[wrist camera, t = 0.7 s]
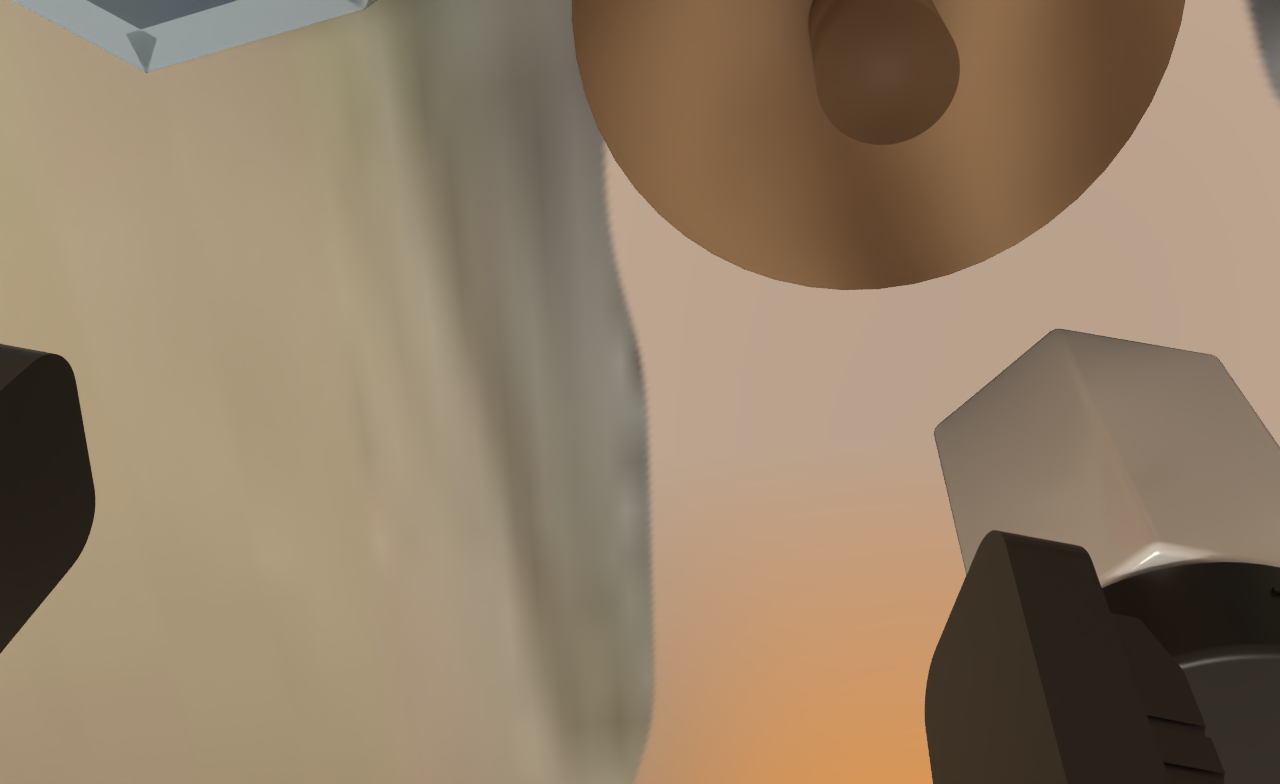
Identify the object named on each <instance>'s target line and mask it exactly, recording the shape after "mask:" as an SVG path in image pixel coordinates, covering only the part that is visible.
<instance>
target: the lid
mask: <svg viewBox="0 0 1280 784" xmlns="http://www.w3.org/2000/svg"><path fill="white" fill-rule="evenodd" d="M1184 4H1185V0H572V22H573V31H574V40H575V49H576V58H577V62H578V66H579V70H580V75H581V79H582V83H583V87H584V91H585V95H586V98H587V100H588V103H589V105H590V108H591V111H592V113H593V116H594V119H595V121H596V124H597V126H598V129H599V131H600V133H601V135H602V136H603V138H604V140H605V142H606V144H607V146H608V148H609V150H610V151H611V153H612V155H613V157H614V158H615V161H616V162H617V163H618V165H619V166H620V168H621V169H622V170H623V172H624V173H625V175H626V176H627V177H628V179H629V180H630V182H631V183H632V184H633V186H634V187H635V189H636V190H637V191H638V192H639V193H640V194H641V195H642V196H643V197H644V198H645V199H646V201H647V202H648V203H649V204H650V205H651V206H652V207H653V208H654V209H655V210H656V211H657V213H658V214H660V215H661V216H662V217H663V218H664V219H665V220H667V221H668V222H669V223H670V224H671V225H672V226H674V227H675V228H676V229H677V230H678V231H680V232H681V233H682V234H683V235H684V236H686V237H687V238H689V239H691V240H692V241H694V242H695V243H697V244H698V245H700V246H701V247H703V248H705V249H706V250H707V251H709V252H711V253H712V254H714V255H716V256H718V257H720V258H722V259H724V260H726V261H728V262H730V263H732V264H734V265H737V266H739V267H741V268H743V269H745V270H748V271H751V272H754V273H757V274H760V275H763V276H766V277H769V278H772V279H775V280H779V281H784V282H789V283H793V284H799V285H803V286H808V287H816V288H828V289H839V290H856V289H881V288H888V287H895V286H901V285H909V284H915V283H919V282H923V281H927V280H930V279H934V278H938V277H942V276H946V275H949V274H952V273H954V272H957V271H960V270H962V269H965V268H967V267H970V266H973V265H975V264H978V263H980V262H983V261H985V260H987V259H989V258H991V257H993V256H995V255H996V254H999V253H1000V252H1002V251H1004V250H1006V249H1008V248H1010V247H1012V246H1014V245H1016V244H1017V243H1019V242H1021V241H1022V240H1024V239H1025V238H1027V237H1028V236H1029V235H1031V234H1033V233H1034V232H1036V231H1037V230H1038V229H1040V228H1042V227H1043V226H1045V225H1046V224H1048V223H1049V222H1050V221H1051V220H1052V219H1054V218H1055V217H1056V216H1057V215H1059V214H1060V213H1061V212H1062V211H1063V210H1065V209H1066V208H1067V207H1068V206H1069V205H1070V204H1072V203H1073V202H1074V201H1075V200H1077V199H1078V198H1079V197H1080V196H1081V195H1082V194H1083V193H1084V192H1085V190H1086V189H1087V188H1088V187H1089V186H1090V185H1091V184H1092V183H1093V182H1094V181H1095V180H1096V179H1097V178H1098V177H1099V176H1100V175H1101V174H1102V173H1103V172H1104V171H1105V170H1106V168H1107V167H1108V166H1109V164H1110V163H1111V162H1112V161H1113V159H1114V158H1115V157H1116V155H1117V154H1118V153H1119V151H1120V150H1121V149H1122V147H1123V146H1124V145H1125V143H1126V142H1127V141H1128V140H1129V138H1130V137H1131V135H1132V134H1133V132H1134V130H1135V129H1136V127H1137V125H1138V123H1139V122H1140V120H1141V118H1142V117H1143V115H1144V113H1145V112H1146V110H1147V108H1148V107H1149V105H1150V103H1151V102H1152V99H1153V97H1154V95H1155V92H1156V91H1157V88H1158V86H1159V84H1160V81H1161V79H1162V77H1163V75H1164V72H1165V70H1166V68H1167V66H1168V64H1169V60H1170V57H1171V54H1172V51H1173V47H1174V44H1175V41H1176V38H1177V34H1178V32H1179V28H1180V25H1181V20H1182V14H1183V9H1184Z"/></svg>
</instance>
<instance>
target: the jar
mask: <svg viewBox="0 0 1280 784" xmlns="http://www.w3.org/2000/svg"><path fill="white" fill-rule="evenodd" d="M934 436H935V441H936V444H937V449H938V454H939V458H940V462H941V466H942V470H943V475H944V480H945V484H946V488H947V493H948V497H949V501H950V506H951V510H952V514H953V519H954V523H955V527H956V532H957V536H958V540H959V544H960V548H961V553H962V558H963V562H964V566H965V570H966V575H967V573H968V571H969V568H970V566H971V563H972V561H973V559H974V556H975V554H976V551H977V549H978V547H979V545H980V543H981V541H982V540H983V538H984V537H985V536H986V535H987V533H989V532H990V531H993V530H997V531H1003V532H1008V533H1014V534H1019V535H1024V536H1030V537H1035V538H1041V539H1046V540H1052V541H1057V542H1062V543H1068V544H1073V545H1078V546H1082V547H1083V548H1084V549H1086V551H1087V552H1088V553H1089V555H1090V557H1091V559H1092V562H1093V565H1094V568H1095V570H1096V573H1097V576H1098V579H1099V582H1100V585H1101V587H1102V590H1103V593H1104V596H1105V599H1106V602H1107V604H1108V607H1109V610H1110V613H1113V614H1119V615H1124V616H1130V617H1135V618H1139V619H1140V620H1141V621H1142V622H1143V624H1144V625H1145V626H1146V627H1147V628H1148V629H1149V631H1150V632H1151V633H1152V634H1153V635H1154V636H1155V638H1156V639H1157V640H1158V641H1159V642H1160V643H1161V645H1162V646H1163V647H1164V648H1165V649H1166V651H1167V652H1168V653H1169V654H1170V655H1171V656H1172V658H1173V659H1174V660H1175V661H1176V662H1177V663H1178V665H1179V666H1180V667H1181V668H1182V669H1183V671H1184V673H1185V676H1186V678H1187V681H1188V683H1189V685H1190V688H1191V690H1192V693H1193V695H1194V698H1195V700H1196V703H1197V705H1198V708H1199V710H1200V712H1201V715H1202V717H1203V720H1204V722H1205V725H1206V728H1205V737H1210V738H1211V739H1212V742H1213V744H1214V747H1215V749H1216V752H1217V754H1218V757H1219V759H1220V762H1221V764H1222V767H1223V769H1224V771H1225V775H1224V784H1280V447H1279V445H1278V444H1277V443H1276V441H1275V440H1274V438H1273V437H1272V435H1271V434H1270V433H1269V431H1268V430H1267V428H1266V427H1265V425H1264V424H1263V422H1262V421H1261V419H1260V418H1259V417H1258V415H1257V414H1256V412H1255V411H1254V409H1253V408H1252V406H1251V405H1250V404H1249V402H1248V401H1247V400H1246V398H1245V396H1244V395H1243V394H1242V392H1241V391H1240V389H1239V388H1238V386H1237V385H1236V384H1235V382H1234V380H1233V379H1232V378H1231V376H1230V375H1229V373H1228V372H1227V371H1226V369H1225V367H1224V366H1223V365H1222V363H1221V362H1220V360H1219V359H1218V358H1217V357H1215V356H1213V355H1209V354H1204V353H1197V352H1191V351H1185V350H1180V349H1174V348H1169V347H1163V346H1156V345H1151V344H1145V343H1140V342H1134V341H1128V340H1122V339H1116V338H1110V337H1105V336H1099V335H1093V334H1087V333H1081V332H1076V331H1070V330H1064V329H1055V330H1053V331H1051V332H1049V333H1048V334H1047V335H1046V336H1045V337H1044V338H1042V339H1041V340H1040V341H1039V342H1038V343H1036V344H1035V345H1034V346H1033V347H1032V348H1030V349H1029V350H1028V351H1027V352H1025V353H1024V354H1023V355H1022V356H1021V357H1019V358H1018V359H1017V360H1016V361H1015V362H1013V363H1012V364H1011V365H1010V366H1009V367H1007V368H1006V369H1005V370H1004V371H1003V372H1001V373H1000V374H999V375H998V376H997V377H995V378H994V379H993V380H992V381H991V382H989V383H988V384H987V385H986V386H985V387H983V388H982V389H981V390H980V391H979V392H977V393H976V394H975V395H974V396H973V397H971V398H970V399H969V400H968V401H967V402H965V403H964V404H963V405H962V406H961V407H959V408H958V409H957V410H956V411H954V412H953V413H952V414H951V415H950V416H948V417H947V418H946V419H945V420H944V421H942V422H941V423H940V424H939V425H938V426H937V427H936V428H935V431H934Z"/></svg>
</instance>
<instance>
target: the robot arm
mask: <svg viewBox="0 0 1280 784" xmlns="http://www.w3.org/2000/svg"><path fill="white" fill-rule="evenodd" d="M94 512H95V490H94V484H93V478H92V472H91V466H90V461H89V455H88V449H87V443H86V438H85V432H84V426H83V420H82V415H81V409H80V403H79V397H78V391H77V386H76V380H75V376H74V373H73V370H72V368H71V366H70V365H69V363H68V362H67V360H65V359H64V358H63V357H62V356H60V355H57V354H52V353H47V352H41V351H36V350H30V349H25V348H20V347H14V346H9V345H3V344H0V653H1V652H2V651H3V649H4V648H5V647H6V646H7V645H8V643H9V642H10V641H11V640H12V638H13V637H14V636H15V635H16V634H17V632H18V631H19V630H20V629H21V628H22V626H23V625H24V624H25V623H26V621H27V620H28V619H29V618H30V617H31V615H32V614H33V613H34V612H35V611H36V609H37V608H38V607H39V606H40V604H41V603H42V602H43V601H44V600H45V598H46V597H47V596H48V595H49V594H50V592H51V591H52V590H53V589H54V587H55V586H56V585H57V584H58V583H59V581H60V580H61V579H62V578H63V577H64V575H65V574H66V573H67V572H68V570H69V569H70V568H71V567H72V566H73V564H74V563H75V562H76V560H77V559H78V557H79V555H80V554H81V552H82V550H83V548H84V546H85V544H86V542H87V539H88V536H89V534H90V531H91V527H92V523H93V518H94ZM925 726H926V734H927V741H928V749H929V757H930V764H931V771H932V779H933V784H1224V775H1225V771H1224V769H1223V767H1222V764H1221V762H1220V759H1219V757H1218V754H1217V752H1216V749H1215V747H1214V744H1213V742H1212V739H1211V738H1210V737H1205V728H1206V725H1205V722H1204V720H1203V717H1202V715H1201V712H1200V710H1199V708H1198V705H1197V703H1196V700H1195V698H1194V695H1193V693H1192V690H1191V688H1190V685H1189V683H1188V681H1187V678H1186V676H1185V673H1184V671H1183V669H1182V668H1181V667H1180V666H1179V665H1178V663H1177V662H1176V661H1175V660H1174V659H1173V658H1172V656H1171V655H1170V654H1169V653H1168V652H1167V651H1166V649H1165V648H1164V647H1163V646H1162V645H1161V643H1160V642H1159V641H1158V640H1157V639H1156V638H1155V636H1154V635H1153V634H1152V633H1151V632H1150V631H1149V629H1148V628H1147V627H1146V626H1145V625H1144V624H1143V622H1142V621H1141V620H1140V619H1139V618H1135V617H1130V616H1124V615H1119V614H1113V613H1110V610H1109V607H1108V604H1107V602H1106V599H1105V596H1104V593H1103V590H1102V587H1101V585H1100V582H1099V579H1098V576H1097V573H1096V570H1095V568H1094V565H1093V562H1092V559H1091V557H1090V555H1089V553H1088V552H1087V551H1086V549H1084V548H1083V547H1082V546H1078V545H1073V544H1068V543H1062V542H1057V541H1052V540H1046V539H1041V538H1035V537H1030V536H1024V535H1019V534H1014V533H1008V532H1003V531H997V530H993V531H990V532H989V533H987V535H986V536H985V537H984V538H983V540H982V541H981V543H980V545H979V547H978V549H977V551H976V554H975V556H974V559H973V561H972V563H971V566H970V568H969V571H968V573H967V575H966V578H965V580H964V583H963V586H962V588H961V590H960V592H959V595H958V597H957V599H956V602H955V604H954V606H953V609H952V611H951V614H950V616H949V618H948V621H947V623H946V626H945V628H944V630H943V633H942V635H941V638H940V640H939V643H938V645H937V647H936V650H935V652H934V655H933V658H932V662H931V665H930V670H929V674H928V680H927V687H926V696H925Z"/></svg>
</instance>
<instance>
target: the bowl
mask: <svg viewBox="0 0 1280 784" xmlns="http://www.w3.org/2000/svg"><path fill="white" fill-rule="evenodd" d="M12 1H14V2H16V3H18V4H20V5H21V6H23V7H25V8H27V9H29V10H31V11H33V12H35V13H36V14H38V15H40V16H42V17H44V18H46V19H48V20H49V21H51V22H53V23H55V24H57V25H59V26H61V27H63V28H64V29H66V30H68V31H70V32H72V33H74V34H76V35H77V36H79V37H81V38H83V39H85V40H87V41H89V42H91V43H92V44H94V45H96V46H98V47H100V48H102V49H104V50H106V51H107V52H109V53H111V54H113V55H115V56H117V57H119V58H120V59H122V60H124V61H126V62H128V63H130V64H132V65H134V66H135V67H137V68H139V69H141V70H143V71H145V72H149V71H153V70H156V69H160V68H163V67H167V66H170V65H174V64H177V63H180V62H184V61H187V60H191V59H194V58H198V57H201V56H205V55H208V54H211V53H215V52H218V51H222V50H225V49H229V48H232V47H236V46H239V45H242V44H246V43H249V42H253V41H256V40H260V39H263V38H267V37H270V36H274V35H277V34H280V33H284V32H287V31H291V30H294V29H298V28H301V27H305V26H308V25H311V24H315V23H318V22H322V21H325V20H329V19H332V18H336V17H339V16H342V15H346V14H349V13H353V12H356V11H360V10H363V9H364V10H365V9H366V8H367V7H369V6H370V5H371V4H373V3H374V2H375V1H376V0H12Z"/></svg>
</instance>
